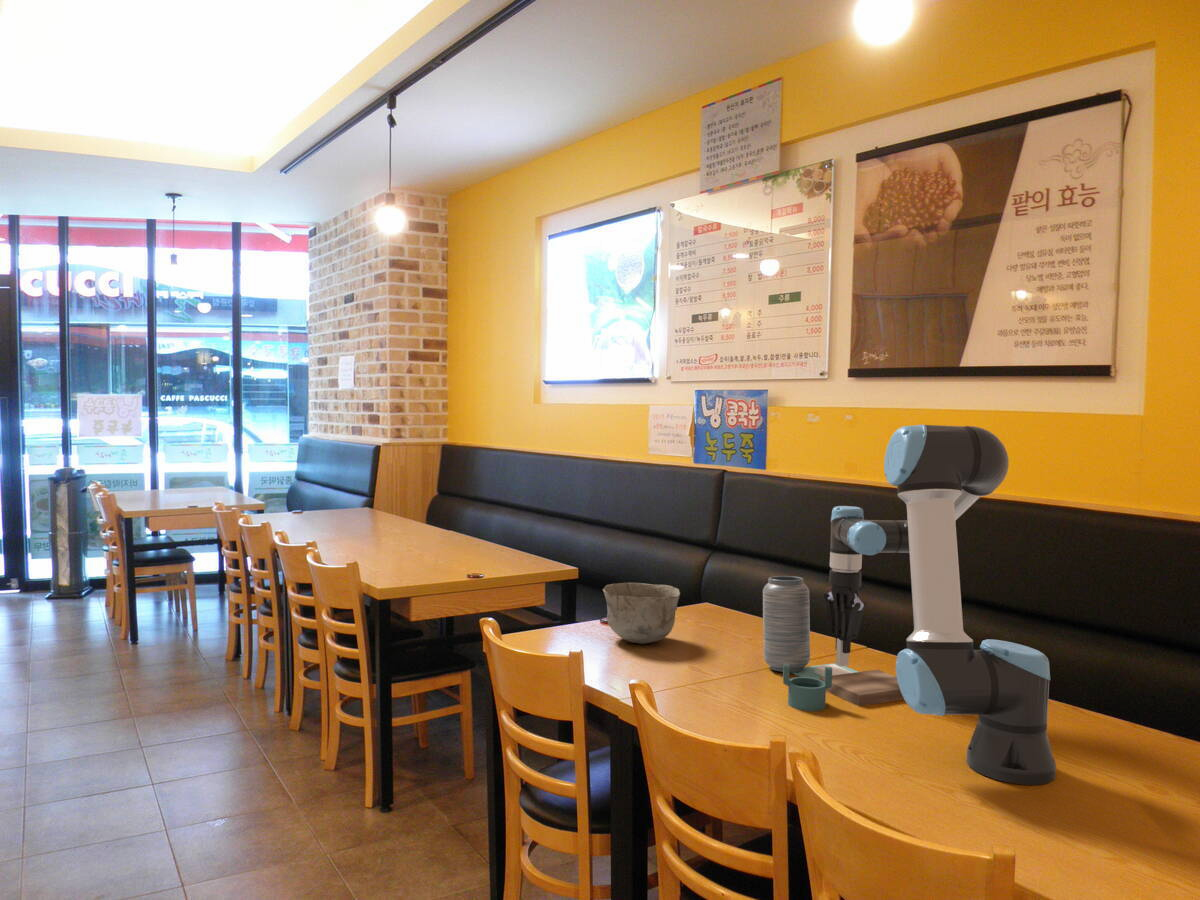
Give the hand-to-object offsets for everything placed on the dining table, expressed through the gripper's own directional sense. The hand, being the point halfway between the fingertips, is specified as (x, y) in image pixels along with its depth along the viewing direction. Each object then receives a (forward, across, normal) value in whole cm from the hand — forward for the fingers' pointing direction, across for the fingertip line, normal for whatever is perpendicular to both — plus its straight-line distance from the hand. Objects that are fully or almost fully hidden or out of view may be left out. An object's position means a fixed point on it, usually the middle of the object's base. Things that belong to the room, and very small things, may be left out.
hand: (842, 664), depth 216 cm
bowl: (+4, +50, +30) cm, 58 cm away
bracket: (+4, -11, +19) cm, 23 cm away
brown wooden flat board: (+4, -10, 0) cm, 10 cm away
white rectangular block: (+4, +2, 0) cm, 4 cm away
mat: (+4, +4, 0) cm, 6 cm away
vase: (+4, +12, +7) cm, 15 cm away
